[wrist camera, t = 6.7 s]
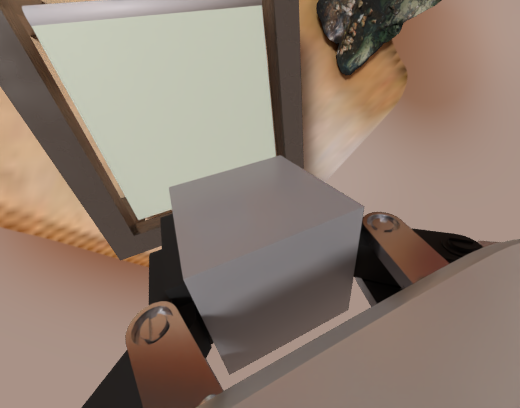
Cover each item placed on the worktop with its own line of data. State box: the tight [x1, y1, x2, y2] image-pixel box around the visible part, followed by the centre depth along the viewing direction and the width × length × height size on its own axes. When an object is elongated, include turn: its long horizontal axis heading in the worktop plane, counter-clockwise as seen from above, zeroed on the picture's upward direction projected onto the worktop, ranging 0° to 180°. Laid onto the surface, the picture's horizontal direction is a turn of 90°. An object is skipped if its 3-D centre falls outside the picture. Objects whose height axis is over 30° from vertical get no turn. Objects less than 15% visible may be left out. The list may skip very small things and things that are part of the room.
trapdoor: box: [22, 0, 276, 220], centre depth 17 cm, size 19×14×2 cm
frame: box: [0, 0, 304, 260], centre depth 21 cm, size 20×20×9 cm
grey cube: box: [169, 155, 364, 375], centre depth 9 cm, size 5×5×5 cm
